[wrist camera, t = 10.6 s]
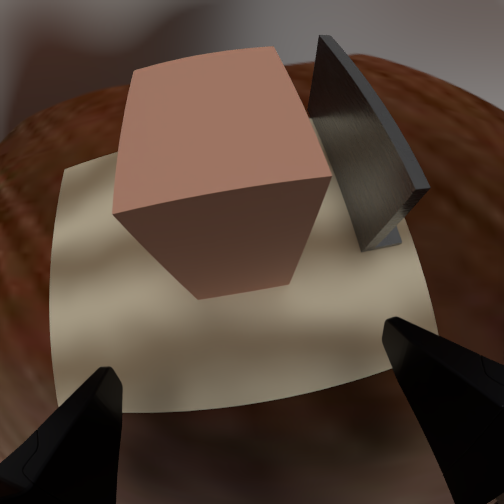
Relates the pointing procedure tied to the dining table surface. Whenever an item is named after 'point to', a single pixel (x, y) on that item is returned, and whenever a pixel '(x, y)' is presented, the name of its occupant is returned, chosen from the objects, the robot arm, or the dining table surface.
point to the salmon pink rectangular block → (219, 170)
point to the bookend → (363, 148)
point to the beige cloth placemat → (219, 310)
